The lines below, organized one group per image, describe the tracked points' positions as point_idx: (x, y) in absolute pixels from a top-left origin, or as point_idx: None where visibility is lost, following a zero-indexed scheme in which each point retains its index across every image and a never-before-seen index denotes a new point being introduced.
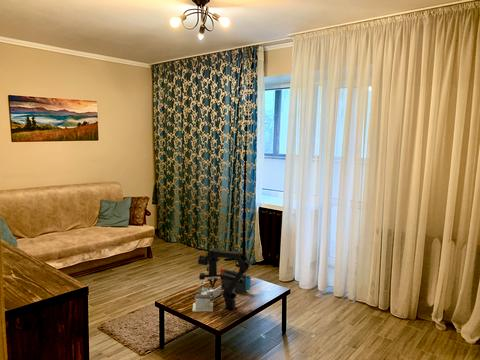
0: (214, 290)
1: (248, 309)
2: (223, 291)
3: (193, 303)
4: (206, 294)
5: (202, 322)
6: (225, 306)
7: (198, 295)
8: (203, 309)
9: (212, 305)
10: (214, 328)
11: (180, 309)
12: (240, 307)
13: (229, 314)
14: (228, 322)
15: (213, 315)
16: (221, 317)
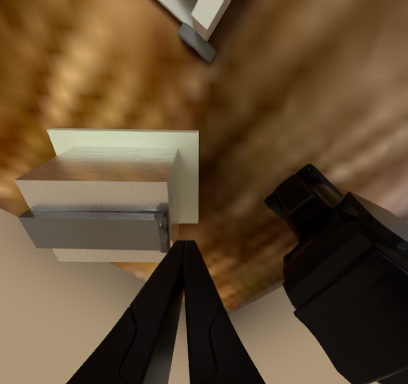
0: (218, 8)
1: (397, 211)
2: (307, 326)
3: (51, 138)
4: (126, 183)
5: None
6: (277, 194)
7: (52, 225)
8: None
9: (194, 174)
10: None
11: (3, 192)
12: (365, 189)
13: (277, 246)
14: (258, 290)
15: (200, 250)
16: (236, 263)
